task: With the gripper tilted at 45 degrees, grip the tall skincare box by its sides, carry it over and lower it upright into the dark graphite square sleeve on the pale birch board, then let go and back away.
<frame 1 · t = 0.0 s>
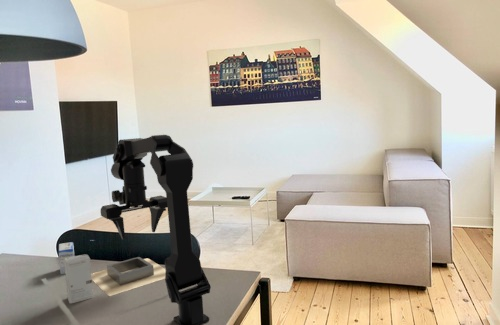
hand: (138, 235, 116), 15 cm above the table, tool pointing down, fingers open, 9 cm apart
skincare box: (81, 301, 108), on the table
sleeve: (130, 274, 122), resting on board
board: (130, 278, 122), on the table
medicine box: (68, 272, 130), on the table
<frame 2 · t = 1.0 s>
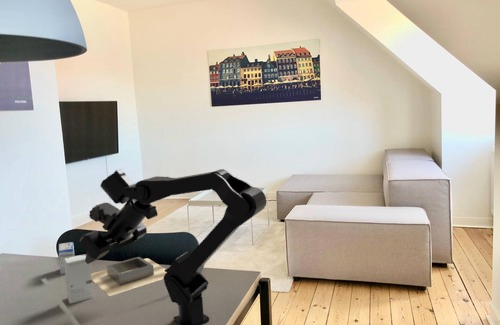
hand: (100, 256, 104), 13 cm above the table, tool tilted 45°, fingers open, 9 cm apart
nothing on the table moved.
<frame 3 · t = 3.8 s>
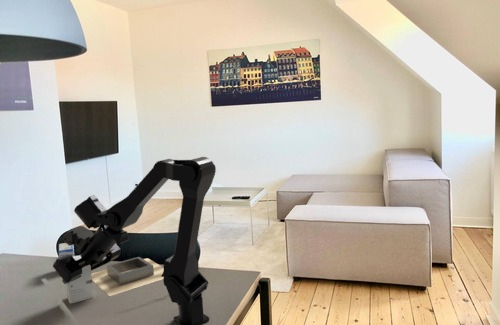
hand: (74, 276, 108), 7 cm above the table, tool tilted 45°, fingers closed on skincare box, 7 cm apart
skincare box: (81, 301, 108), on the table, touching gripper
everything else where it was.
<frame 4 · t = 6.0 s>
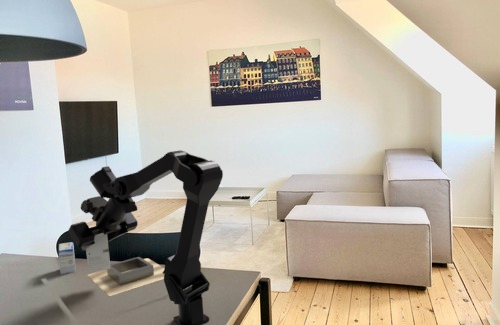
hand: (94, 244, 114), 13 cm above the table, tool tilted 45°, fingers closed on skincare box, 7 cm apart
skincare box: (100, 268, 114), point 6 cm above the table, touching gripper
everything else where it was.
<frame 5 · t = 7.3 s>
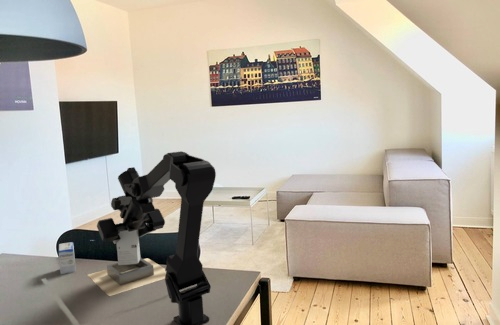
hand: (125, 239, 121), 12 cm above the table, tool tilted 45°, fingers closed on skincare box, 7 cm apart
skincare box: (130, 262, 121), point 5 cm above the table, touching gripper
everything else where it was.
when the fingers open (9 cm above the table, at t = 8.4 s): skincare box stays where it is, resting on board.
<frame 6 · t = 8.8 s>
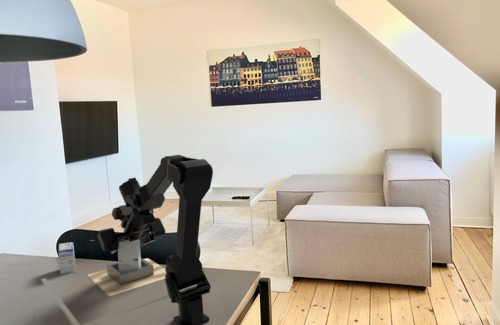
hand: (126, 248, 122), 9 cm above the table, tool tilted 45°, fingers open, 9 cm apart
skincare box: (131, 275, 122), point 1 cm above the table, touching board
everything else where it was.
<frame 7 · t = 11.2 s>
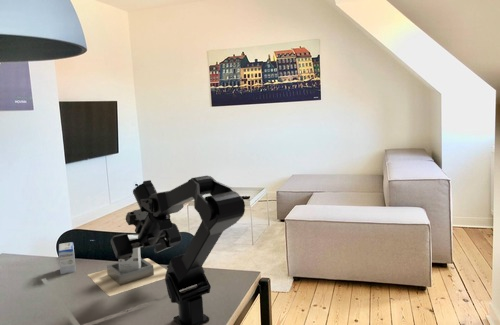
hand: (140, 255, 115), 9 cm above the table, tool tilted 45°, fingers open, 9 cm apart
nothing on the table moved.
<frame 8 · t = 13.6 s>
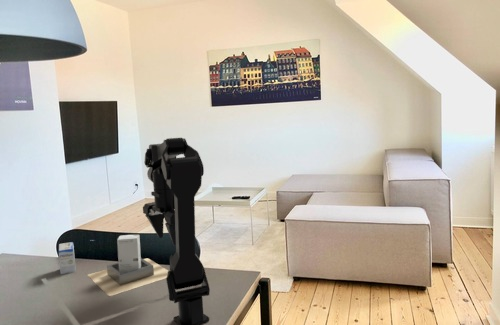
hand: (168, 241, 114), 13 cm above the table, tool pointing down, fingers open, 9 cm apart
nothing on the table moved.
at the end: skincare box 0.3 cm off-centre on the sleeve, point 0.0 cm above the sleeve's base; skincare box tilted 0°; the gripper is holding nothing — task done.
